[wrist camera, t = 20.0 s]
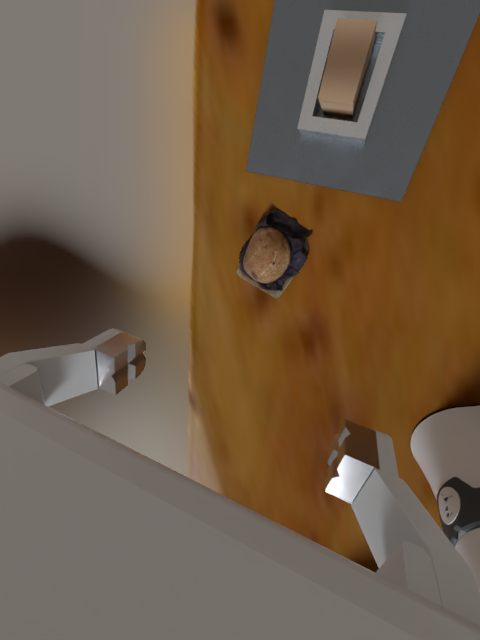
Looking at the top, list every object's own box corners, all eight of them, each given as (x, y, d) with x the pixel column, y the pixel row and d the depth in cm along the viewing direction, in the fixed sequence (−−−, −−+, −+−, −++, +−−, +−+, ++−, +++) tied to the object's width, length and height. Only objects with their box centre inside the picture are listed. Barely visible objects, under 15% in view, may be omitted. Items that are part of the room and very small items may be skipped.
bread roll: (280, 300, 40) (275, 309, 37) (233, 270, 41) (223, 276, 38) (322, 234, 35) (320, 238, 32) (266, 201, 36) (258, 202, 33)
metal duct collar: (498, -37, 22) (521, -74, 19) (399, 201, 30) (405, 201, 27) (284, -38, 26) (276, -69, 23) (248, 171, 35) (239, 169, 32)
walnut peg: (352, 119, 28) (353, 101, 23) (323, 115, 29) (317, 97, 24) (371, 55, 26) (377, 20, 21) (340, 53, 27) (337, 18, 22)
